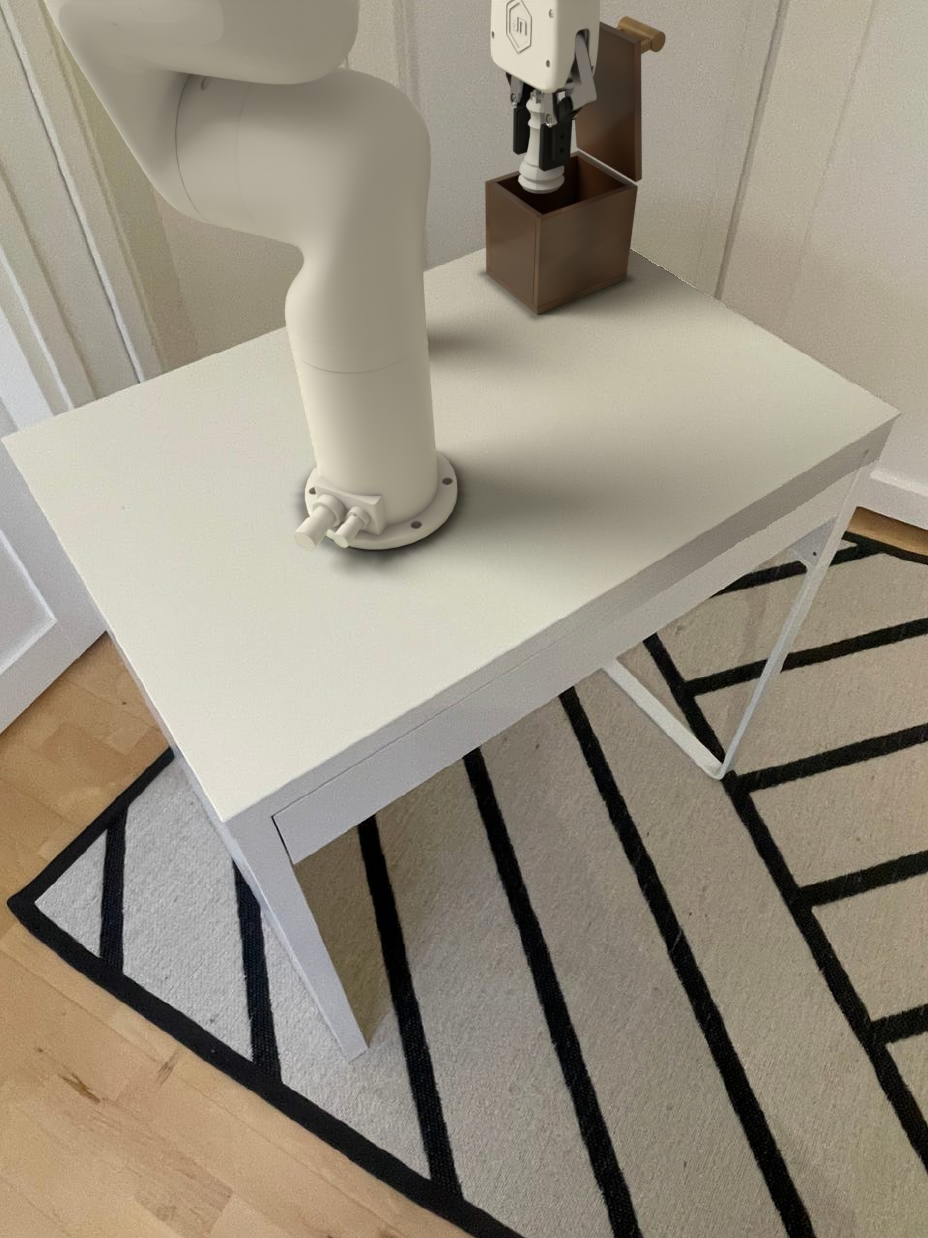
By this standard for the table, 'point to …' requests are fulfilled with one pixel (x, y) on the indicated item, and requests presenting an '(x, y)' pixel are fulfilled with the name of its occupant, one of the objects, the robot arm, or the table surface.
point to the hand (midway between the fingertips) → (541, 156)
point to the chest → (560, 234)
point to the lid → (618, 97)
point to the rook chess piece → (529, 168)
